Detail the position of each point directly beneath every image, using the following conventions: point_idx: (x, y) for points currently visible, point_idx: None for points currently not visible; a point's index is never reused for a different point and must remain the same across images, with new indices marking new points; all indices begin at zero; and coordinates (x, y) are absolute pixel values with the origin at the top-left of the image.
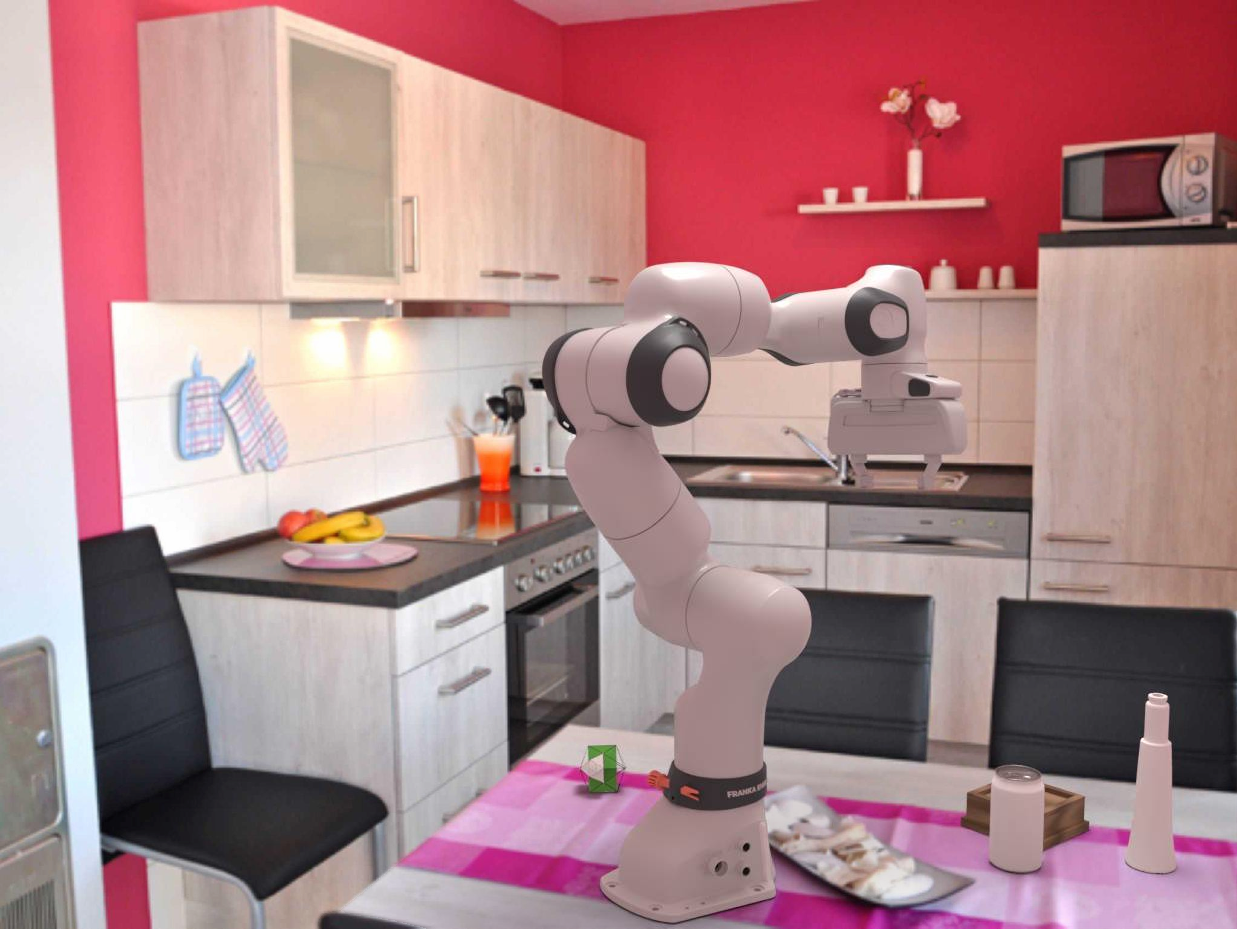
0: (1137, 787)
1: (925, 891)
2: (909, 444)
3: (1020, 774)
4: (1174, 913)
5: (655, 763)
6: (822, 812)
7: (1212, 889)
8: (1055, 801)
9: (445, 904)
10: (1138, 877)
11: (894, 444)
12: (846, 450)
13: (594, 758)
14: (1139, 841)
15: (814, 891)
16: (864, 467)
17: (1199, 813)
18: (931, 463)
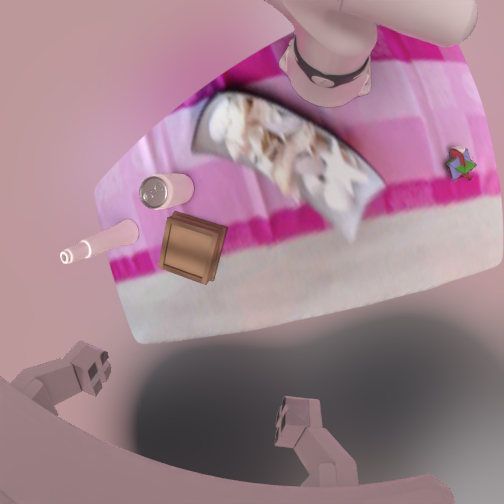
0: (108, 235)
1: (209, 120)
2: (35, 437)
3: (152, 192)
4: (107, 179)
5: (448, 227)
6: (317, 199)
7: (103, 217)
8: (172, 256)
9: None
10: (128, 211)
11: (98, 476)
12: (374, 494)
13: (464, 149)
14: (122, 224)
15: (263, 83)
16: (308, 467)
17: (135, 313)
18: (26, 371)
